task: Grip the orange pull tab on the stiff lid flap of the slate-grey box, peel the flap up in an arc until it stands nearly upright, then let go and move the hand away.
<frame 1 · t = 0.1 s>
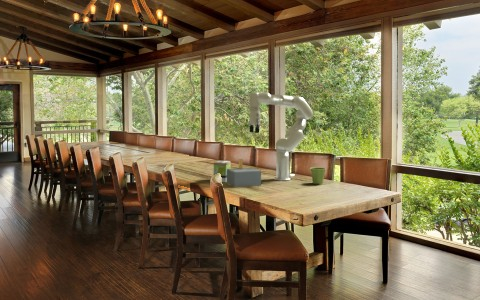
hand: (254, 132, 314), 37 cm above the table, tool pointing down, fingers open, 9 cm apart
slate box: (243, 184, 303), on the table
tea box: (222, 181, 319), on the table
plant pot: (317, 183, 310), on the table
lid flap: (243, 165, 302), point 14 cm above the table, hinge at 0.0°
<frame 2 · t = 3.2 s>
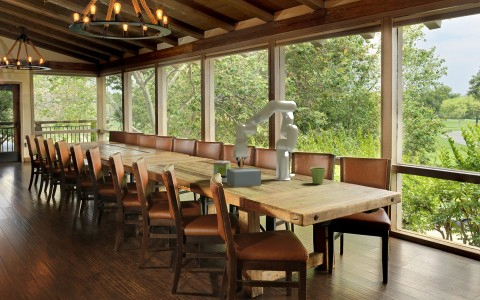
hand: (240, 166, 307), 12 cm above the table, tool pointing down, fingers closed
lid flap: (243, 165, 302), point 14 cm above the table, hinge at 0.0°, touching gripper
everything else where it was.
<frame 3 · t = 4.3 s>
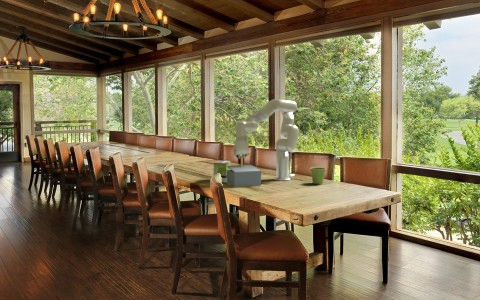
hand: (241, 163, 306), 14 cm above the table, tool pointing down, fingers closed on lid flap
lid flap: (244, 163, 301), point 15 cm above the table, hinge at 8.2°, touching gripper
everything else where it was.
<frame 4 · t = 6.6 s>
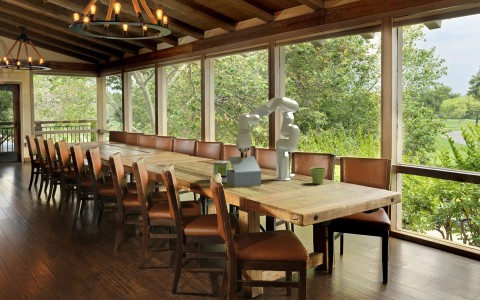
hand: (243, 157, 301), 20 cm above the table, tool pointing down, fingers closed on lid flap
lid flap: (245, 160, 298), point 18 cm above the table, hinge at 34.7°, touching gripper
everything else where it was.
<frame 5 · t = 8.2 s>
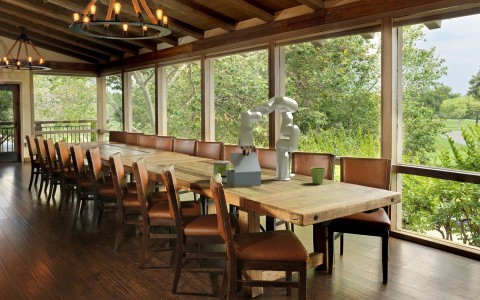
hand: (245, 155, 298), 21 cm above the table, tool pointing down, fingers closed
lid flap: (247, 159, 296), point 19 cm above the table, hinge at 50.8°, touching gripper
everything else where it was.
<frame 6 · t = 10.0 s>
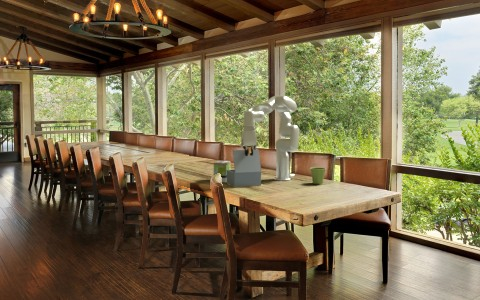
hand: (248, 155, 292), 22 cm above the table, tool pointing down, fingers closed
lid flap: (248, 160, 293), point 19 cm above the table, hinge at 71.9°
everything else where it was.
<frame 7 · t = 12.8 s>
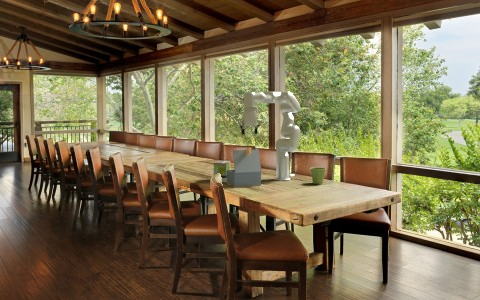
hand: (249, 134, 297), 36 cm above the table, tool pointing down, fingers open, 9 cm apart
nothing on the table moved.
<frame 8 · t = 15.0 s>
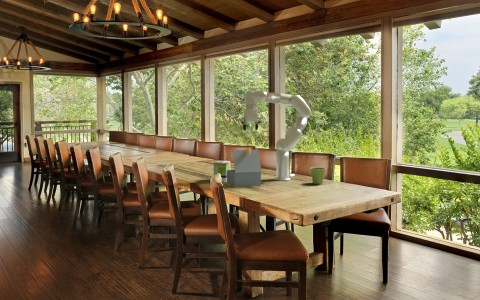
hand: (250, 130, 319), 38 cm above the table, tool pointing down, fingers open, 9 cm apart
nothing on the table moved.
at the end: lid flap at +72° (first picture: +0°); the gripper is holding nothing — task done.
